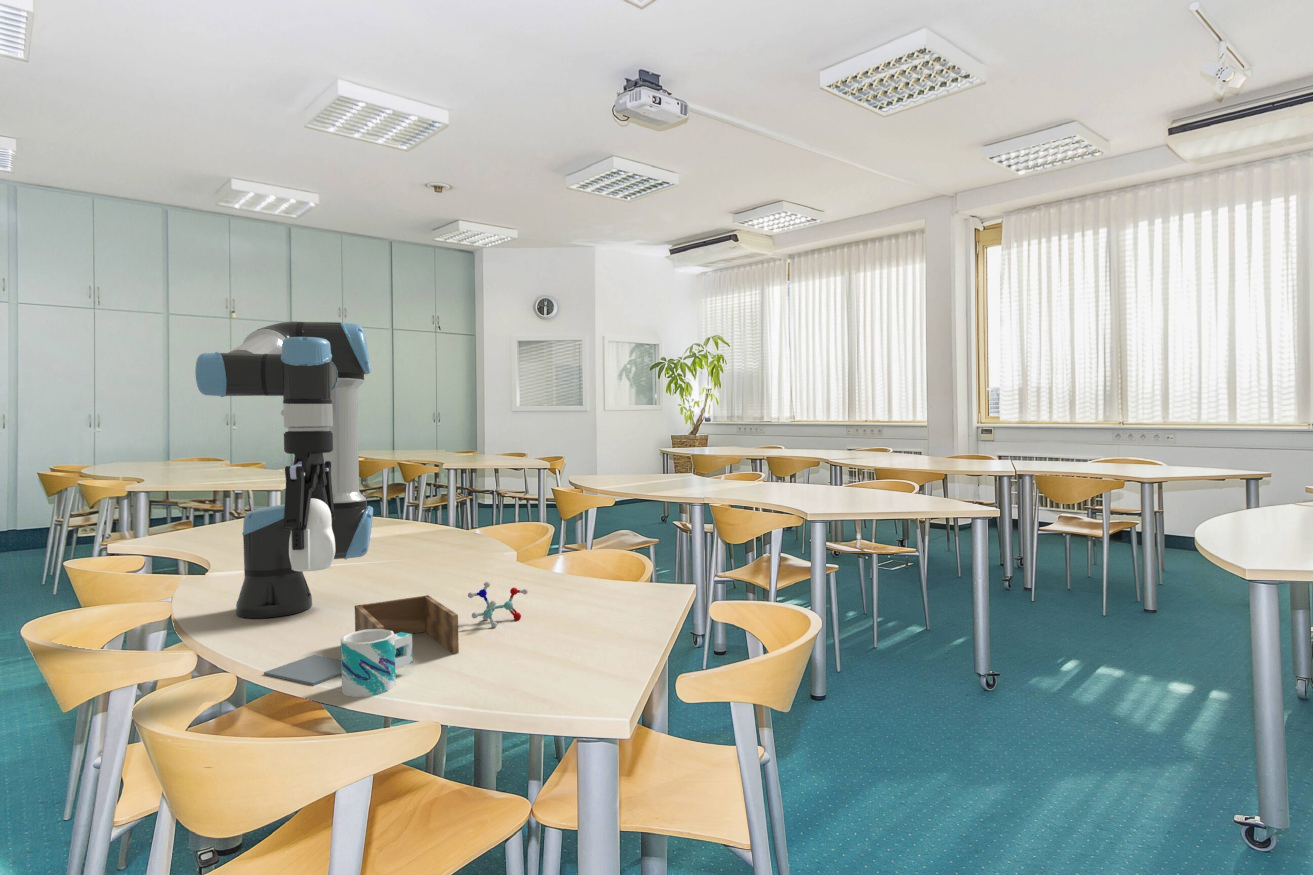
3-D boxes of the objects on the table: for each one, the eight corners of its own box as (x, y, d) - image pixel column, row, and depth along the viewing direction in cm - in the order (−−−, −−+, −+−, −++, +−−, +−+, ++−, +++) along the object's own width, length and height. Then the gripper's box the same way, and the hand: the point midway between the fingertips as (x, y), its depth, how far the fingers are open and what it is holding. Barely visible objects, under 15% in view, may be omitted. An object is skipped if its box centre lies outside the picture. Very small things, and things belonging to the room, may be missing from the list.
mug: (330, 691, 117) (329, 638, 117) (389, 667, 128) (388, 619, 128) (367, 700, 113) (366, 645, 113) (425, 675, 124) (424, 625, 124)
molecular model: (509, 614, 148) (494, 569, 152) (471, 635, 150) (456, 590, 154) (538, 616, 158) (522, 574, 162) (501, 636, 160) (487, 594, 164)
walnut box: (355, 641, 143) (354, 605, 142) (428, 629, 150) (427, 595, 150) (378, 668, 128) (378, 627, 127) (458, 652, 135) (458, 614, 135)
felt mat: (263, 674, 125) (263, 672, 125) (314, 656, 134) (314, 654, 134) (313, 685, 120) (313, 682, 120) (362, 666, 129) (362, 663, 129)
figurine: (289, 574, 122) (288, 501, 121) (288, 566, 128) (286, 497, 128) (337, 570, 125) (335, 498, 124) (333, 562, 132) (331, 494, 131)
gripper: (310, 428, 136) (312, 552, 136) (256, 431, 115) (260, 577, 116) (352, 428, 136) (354, 551, 137) (306, 430, 115) (310, 576, 116)
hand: (311, 563), depth 126 cm, fingers closed on figurine, 8 cm apart
